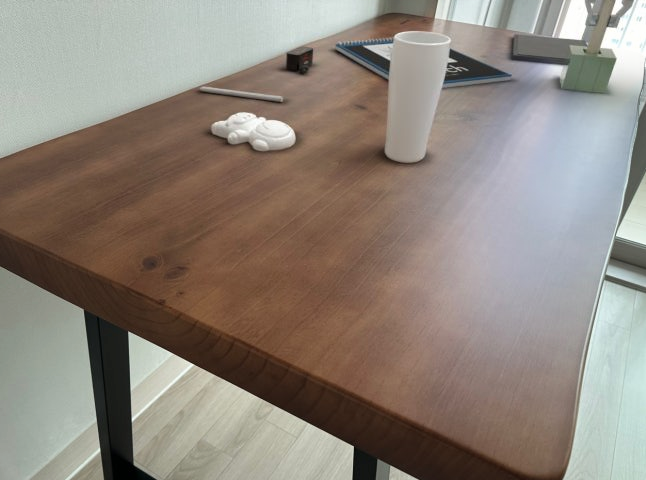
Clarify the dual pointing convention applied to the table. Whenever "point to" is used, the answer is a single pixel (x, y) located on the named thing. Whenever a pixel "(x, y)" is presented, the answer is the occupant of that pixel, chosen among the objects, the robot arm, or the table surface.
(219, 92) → the pencil
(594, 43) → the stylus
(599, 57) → the pen block
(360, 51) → the sketchbook
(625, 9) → the robot arm
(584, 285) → the table surface
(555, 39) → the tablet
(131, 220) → the table surface
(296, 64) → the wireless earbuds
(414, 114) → the drinking glass
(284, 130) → the white animal figurine
